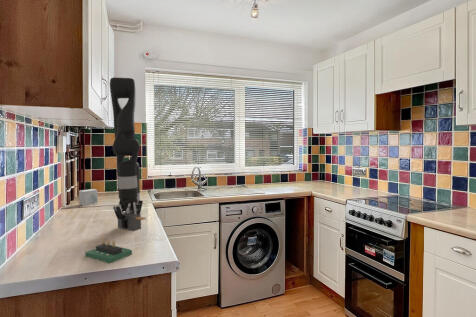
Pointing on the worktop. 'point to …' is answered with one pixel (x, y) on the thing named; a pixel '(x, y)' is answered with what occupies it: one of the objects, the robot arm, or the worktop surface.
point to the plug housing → (132, 222)
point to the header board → (108, 258)
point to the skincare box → (88, 197)
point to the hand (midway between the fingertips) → (129, 226)
